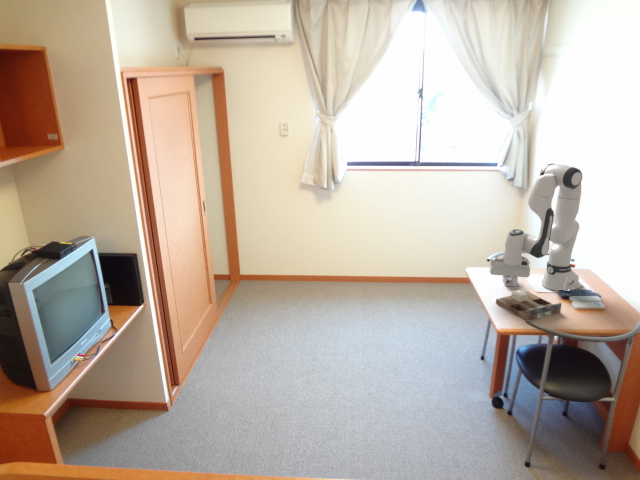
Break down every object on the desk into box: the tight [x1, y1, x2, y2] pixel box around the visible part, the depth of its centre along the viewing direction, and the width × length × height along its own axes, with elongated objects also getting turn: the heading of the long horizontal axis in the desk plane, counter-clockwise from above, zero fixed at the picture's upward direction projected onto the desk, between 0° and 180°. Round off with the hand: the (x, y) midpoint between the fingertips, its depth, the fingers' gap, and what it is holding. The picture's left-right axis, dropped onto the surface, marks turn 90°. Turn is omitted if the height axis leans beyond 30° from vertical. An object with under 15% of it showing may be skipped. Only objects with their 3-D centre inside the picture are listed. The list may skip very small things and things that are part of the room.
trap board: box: [495, 291, 562, 321], centre depth 247 cm, size 22×22×5 cm
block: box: [511, 289, 528, 302], centre depth 252 cm, size 5×6×4 cm
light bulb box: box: [502, 275, 519, 287], centre depth 277 cm, size 11×7×11 cm, turn 168°
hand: (507, 282), depth 258 cm, fingers closed
